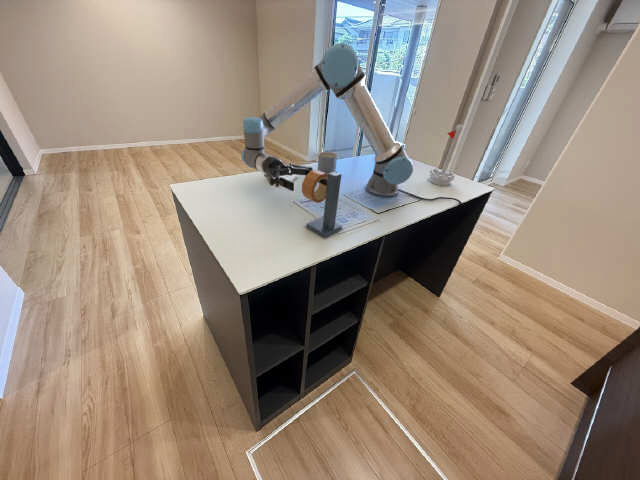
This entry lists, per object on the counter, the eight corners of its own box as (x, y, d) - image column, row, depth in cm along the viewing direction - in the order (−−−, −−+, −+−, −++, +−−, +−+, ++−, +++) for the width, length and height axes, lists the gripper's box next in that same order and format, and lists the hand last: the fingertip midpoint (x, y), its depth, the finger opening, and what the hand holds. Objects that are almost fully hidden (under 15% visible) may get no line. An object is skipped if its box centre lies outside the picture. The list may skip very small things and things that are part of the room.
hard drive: (275, 173, 132) (296, 178, 129) (267, 178, 125) (290, 183, 122) (275, 170, 131) (297, 175, 128) (267, 175, 124) (290, 180, 121)
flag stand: (456, 183, 141) (479, 126, 124) (443, 188, 134) (466, 128, 117) (435, 176, 149) (454, 121, 132) (422, 179, 142) (441, 122, 125)
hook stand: (324, 238, 85) (331, 179, 73) (299, 222, 92) (301, 167, 80) (341, 229, 91) (349, 173, 79) (315, 215, 98) (320, 162, 86)
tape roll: (320, 194, 92) (323, 167, 87) (330, 198, 90) (333, 171, 84) (301, 201, 86) (302, 173, 80) (310, 206, 83) (312, 177, 78)
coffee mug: (326, 176, 133) (328, 158, 128) (313, 171, 139) (315, 153, 133) (342, 172, 142) (345, 154, 136) (330, 167, 147) (332, 149, 141)
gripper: (293, 169, 109) (329, 184, 97) (243, 181, 93) (279, 202, 82) (293, 151, 104) (331, 165, 93) (241, 161, 89) (279, 180, 77)
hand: (307, 182), depth 87 cm, fingers open, 13 cm apart
